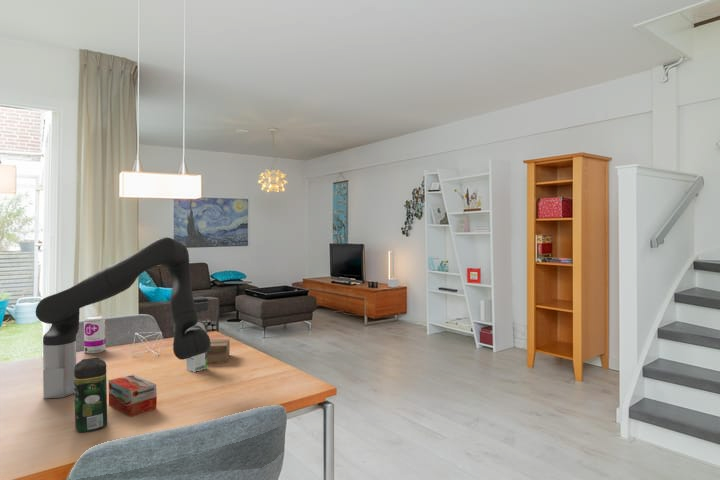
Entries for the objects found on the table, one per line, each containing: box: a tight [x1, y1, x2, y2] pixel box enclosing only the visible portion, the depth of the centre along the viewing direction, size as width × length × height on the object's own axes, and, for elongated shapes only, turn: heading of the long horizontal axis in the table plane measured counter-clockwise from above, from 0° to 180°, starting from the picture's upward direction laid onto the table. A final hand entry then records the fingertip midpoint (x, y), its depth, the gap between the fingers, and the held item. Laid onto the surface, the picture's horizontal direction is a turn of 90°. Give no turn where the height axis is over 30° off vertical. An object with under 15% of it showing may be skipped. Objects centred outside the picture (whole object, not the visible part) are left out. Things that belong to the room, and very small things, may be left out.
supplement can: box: [83, 315, 106, 354], centre depth 203 cm, size 8×8×15 cm
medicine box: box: [107, 374, 158, 418], centre depth 142 cm, size 15×8×8 cm, turn 53°
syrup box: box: [185, 352, 208, 373], centre depth 179 cm, size 6×6×14 cm
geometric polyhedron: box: [131, 331, 163, 358], centre depth 199 cm, size 12×11×9 cm
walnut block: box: [207, 338, 231, 364], centre depth 192 cm, size 11×11×7 cm
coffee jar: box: [73, 357, 108, 433], centre depth 128 cm, size 10×8×19 cm
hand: (195, 322), depth 169 cm, fingers open, 8 cm apart
